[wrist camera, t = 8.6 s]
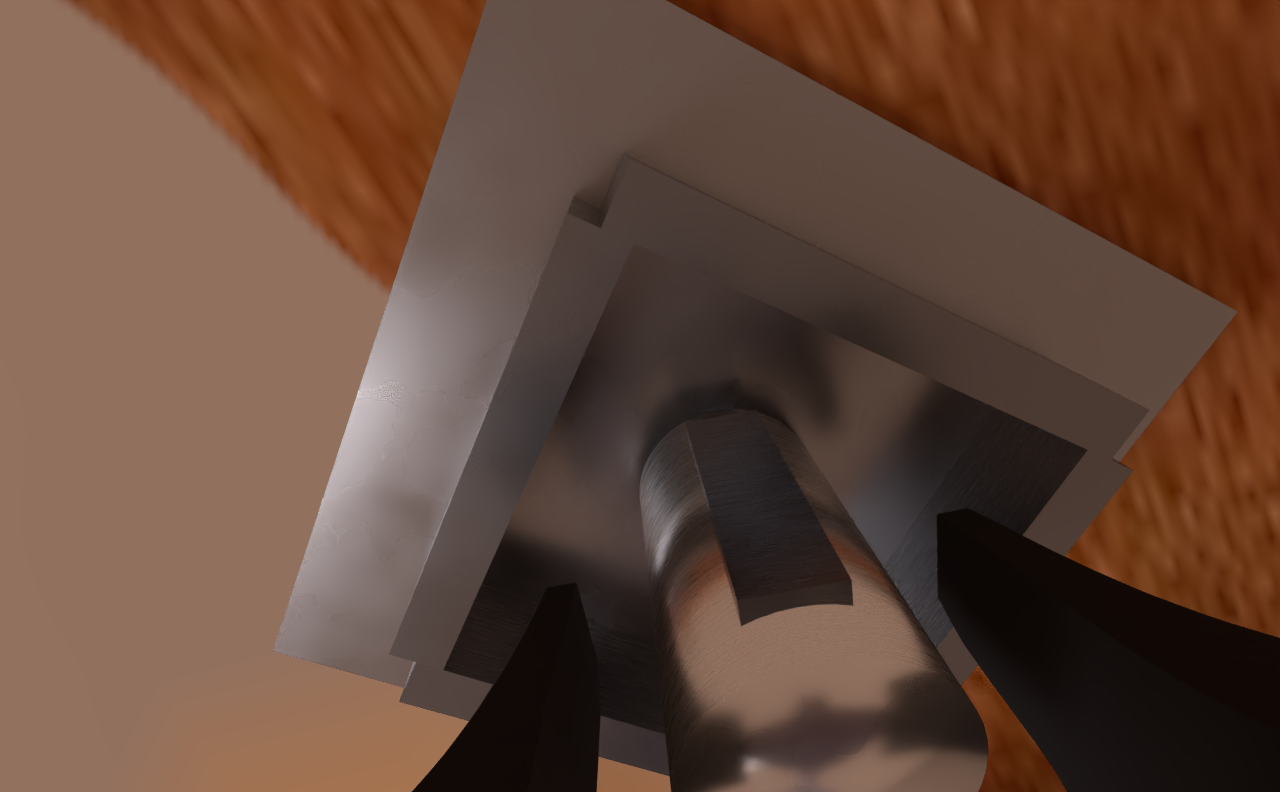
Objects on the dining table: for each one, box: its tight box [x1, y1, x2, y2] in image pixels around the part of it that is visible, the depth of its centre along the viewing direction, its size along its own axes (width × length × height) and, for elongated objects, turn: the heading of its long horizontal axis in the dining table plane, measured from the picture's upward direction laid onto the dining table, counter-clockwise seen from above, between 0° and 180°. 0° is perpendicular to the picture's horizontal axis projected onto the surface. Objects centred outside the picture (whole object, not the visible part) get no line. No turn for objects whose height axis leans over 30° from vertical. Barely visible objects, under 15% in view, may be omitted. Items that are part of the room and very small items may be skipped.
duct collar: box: [273, 0, 1238, 776], centre depth 15 cm, size 18×18×4 cm
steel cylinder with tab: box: [639, 409, 988, 792], centre depth 13 cm, size 5×4×8 cm
